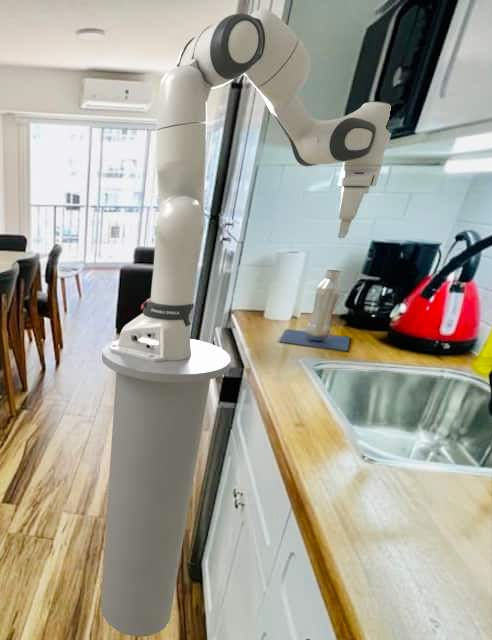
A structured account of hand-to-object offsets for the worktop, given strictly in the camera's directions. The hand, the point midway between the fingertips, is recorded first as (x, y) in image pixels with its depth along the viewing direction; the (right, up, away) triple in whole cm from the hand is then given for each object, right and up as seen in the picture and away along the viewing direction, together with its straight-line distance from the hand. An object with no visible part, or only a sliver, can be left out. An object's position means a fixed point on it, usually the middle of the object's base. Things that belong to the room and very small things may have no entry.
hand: (342, 236), depth 131 cm
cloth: (+1, -25, +15) cm, 29 cm away
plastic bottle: (0, -25, +14) cm, 29 cm away
